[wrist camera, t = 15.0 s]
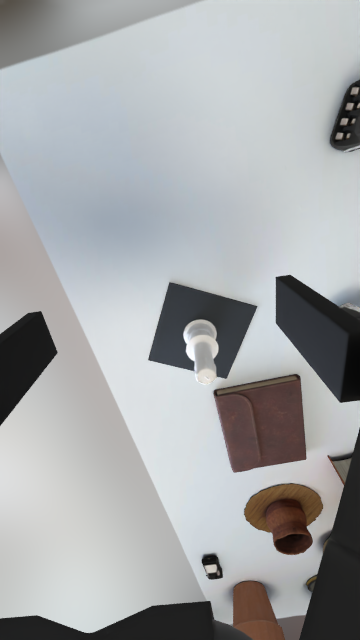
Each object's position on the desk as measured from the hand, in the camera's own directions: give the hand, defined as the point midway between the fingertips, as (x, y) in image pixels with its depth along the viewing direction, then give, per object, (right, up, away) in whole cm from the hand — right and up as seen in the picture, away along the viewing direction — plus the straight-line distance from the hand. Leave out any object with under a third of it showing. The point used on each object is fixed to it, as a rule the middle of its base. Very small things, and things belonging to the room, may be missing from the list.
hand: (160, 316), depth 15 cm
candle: (+4, -2, +28) cm, 28 cm away
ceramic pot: (+25, -44, +46) cm, 68 cm away
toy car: (+10, -65, +56) cm, 86 cm away
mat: (+4, -2, +28) cm, 28 cm away
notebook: (+17, -20, +36) cm, 44 cm away
